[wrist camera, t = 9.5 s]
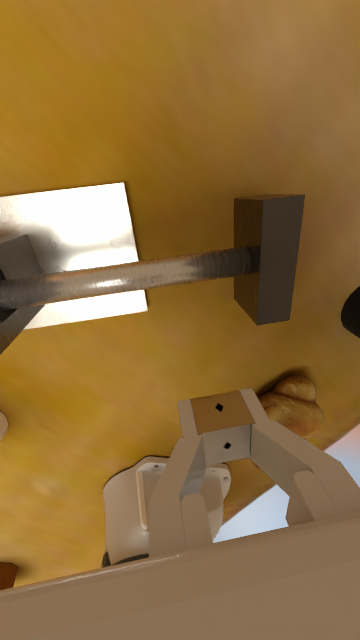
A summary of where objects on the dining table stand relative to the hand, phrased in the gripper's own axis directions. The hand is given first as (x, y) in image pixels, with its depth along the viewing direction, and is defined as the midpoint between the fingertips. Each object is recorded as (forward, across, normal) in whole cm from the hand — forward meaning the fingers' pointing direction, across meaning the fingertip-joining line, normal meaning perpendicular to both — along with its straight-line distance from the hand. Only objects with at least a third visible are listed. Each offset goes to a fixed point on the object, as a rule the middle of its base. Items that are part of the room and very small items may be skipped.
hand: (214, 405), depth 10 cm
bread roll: (+18, -13, +22) cm, 32 cm away
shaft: (+12, +3, -3) cm, 13 cm away
